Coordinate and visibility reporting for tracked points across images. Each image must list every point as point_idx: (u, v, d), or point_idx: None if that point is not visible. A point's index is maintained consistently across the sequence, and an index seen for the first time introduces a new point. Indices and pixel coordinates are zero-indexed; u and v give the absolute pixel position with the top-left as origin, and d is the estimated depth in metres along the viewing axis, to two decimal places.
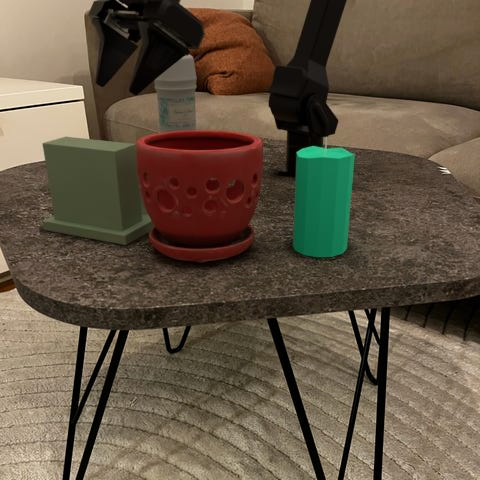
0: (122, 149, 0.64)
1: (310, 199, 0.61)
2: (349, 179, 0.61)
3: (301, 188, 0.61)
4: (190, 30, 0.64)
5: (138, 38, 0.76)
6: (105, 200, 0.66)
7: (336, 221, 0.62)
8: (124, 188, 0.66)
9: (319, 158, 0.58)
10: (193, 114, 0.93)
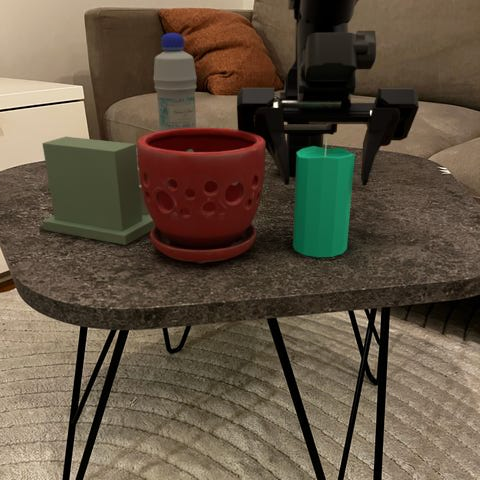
0: (122, 149, 0.64)
1: (310, 199, 0.61)
2: (349, 179, 0.61)
3: (301, 188, 0.61)
4: None
5: None
6: (105, 200, 0.66)
7: (336, 221, 0.62)
8: (124, 188, 0.66)
9: (319, 158, 0.58)
10: (193, 114, 0.93)
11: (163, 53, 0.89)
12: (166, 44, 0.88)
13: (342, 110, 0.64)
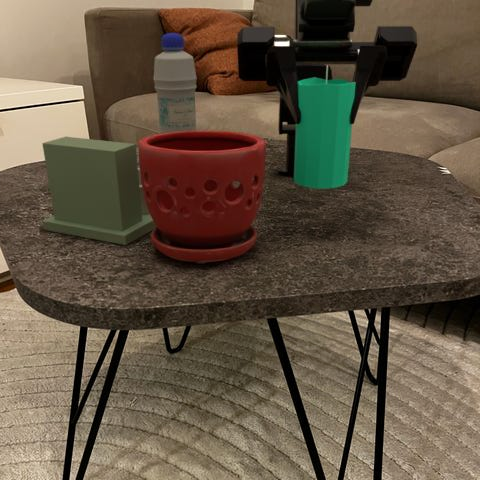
0: (122, 149, 0.64)
1: (311, 128, 0.61)
2: (350, 108, 0.61)
3: (302, 117, 0.62)
4: None
5: None
6: (105, 200, 0.66)
7: (337, 151, 0.62)
8: (124, 188, 0.66)
9: (320, 85, 0.59)
10: (193, 114, 0.93)
11: (163, 53, 0.89)
12: (166, 44, 0.88)
13: (342, 50, 0.65)
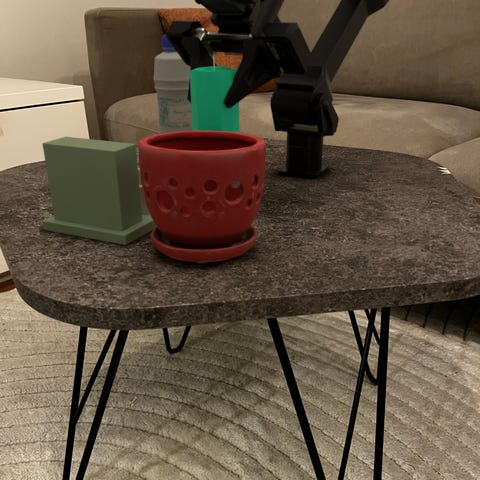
0: (122, 149, 0.64)
1: (193, 107, 0.72)
2: (223, 93, 0.69)
3: None
4: (304, 55, 0.69)
5: None
6: (105, 200, 0.66)
7: (211, 130, 0.71)
8: (124, 188, 0.66)
9: (193, 70, 0.69)
10: None
11: (163, 53, 0.89)
12: (166, 44, 0.88)
13: None
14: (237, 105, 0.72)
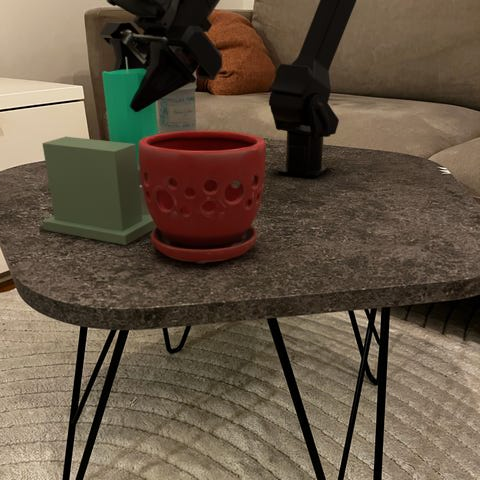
0: (122, 149, 0.64)
1: None
2: (128, 96, 0.68)
3: None
4: (210, 59, 0.65)
5: (146, 65, 0.77)
6: (105, 200, 0.66)
7: (119, 133, 0.70)
8: (124, 188, 0.66)
9: (102, 72, 0.68)
10: (193, 114, 0.93)
11: None
12: None
13: None
14: (148, 109, 0.70)
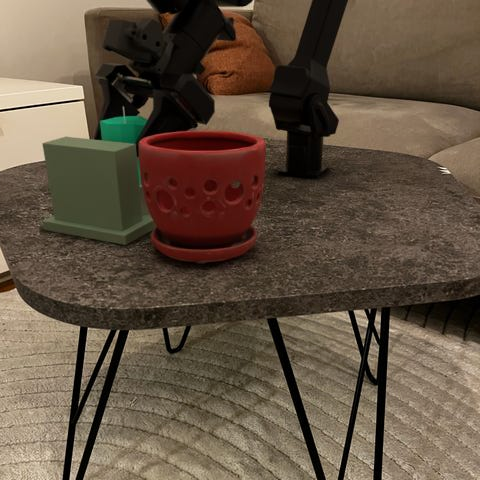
0: (122, 149, 0.64)
1: None
2: None
3: None
4: (203, 106, 0.67)
5: (141, 105, 0.78)
6: (105, 200, 0.66)
7: None
8: (124, 188, 0.66)
9: (100, 121, 0.70)
10: None
11: None
12: None
13: None
14: None
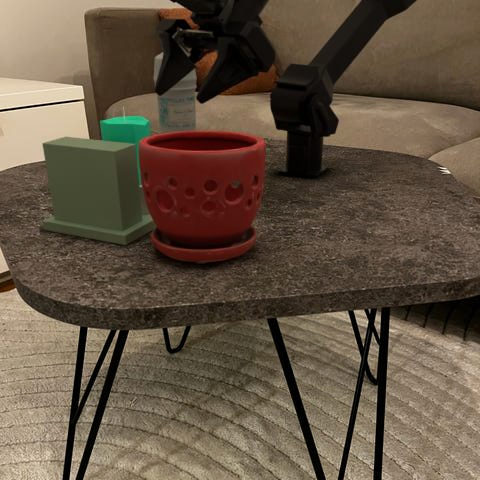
0: (122, 149, 0.64)
1: None
2: None
3: None
4: (265, 53, 0.70)
5: (197, 60, 0.81)
6: (105, 200, 0.66)
7: None
8: (124, 188, 0.66)
9: (100, 121, 0.70)
10: (193, 114, 0.93)
11: None
12: None
13: None
14: None
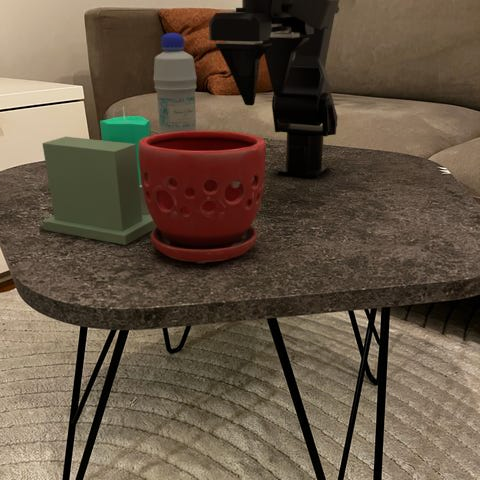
0: (122, 149, 0.64)
1: None
2: None
3: None
4: None
5: None
6: (105, 200, 0.66)
7: None
8: (124, 188, 0.66)
9: (100, 121, 0.70)
10: (193, 114, 0.93)
11: (163, 53, 0.89)
12: (166, 44, 0.88)
13: None
14: None
